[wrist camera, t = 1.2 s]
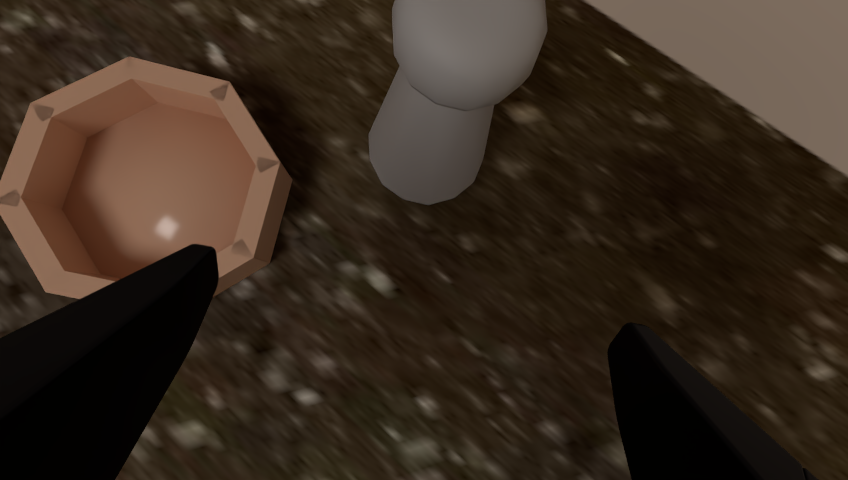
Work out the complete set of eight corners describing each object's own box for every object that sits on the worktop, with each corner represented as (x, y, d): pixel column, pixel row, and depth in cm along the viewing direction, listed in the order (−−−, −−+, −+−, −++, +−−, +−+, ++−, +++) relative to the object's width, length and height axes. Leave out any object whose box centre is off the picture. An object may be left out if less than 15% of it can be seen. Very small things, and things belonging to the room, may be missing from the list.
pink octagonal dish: (125, 349, 20) (83, 358, 17) (14, 160, 21) (-45, 138, 18) (324, 230, 22) (317, 220, 19) (217, 60, 23) (194, 25, 20)
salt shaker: (448, 230, 23) (541, 146, 10) (352, 187, 23) (323, 46, 10) (486, 138, 24) (615, -43, 11) (395, 96, 24) (419, -139, 11)
